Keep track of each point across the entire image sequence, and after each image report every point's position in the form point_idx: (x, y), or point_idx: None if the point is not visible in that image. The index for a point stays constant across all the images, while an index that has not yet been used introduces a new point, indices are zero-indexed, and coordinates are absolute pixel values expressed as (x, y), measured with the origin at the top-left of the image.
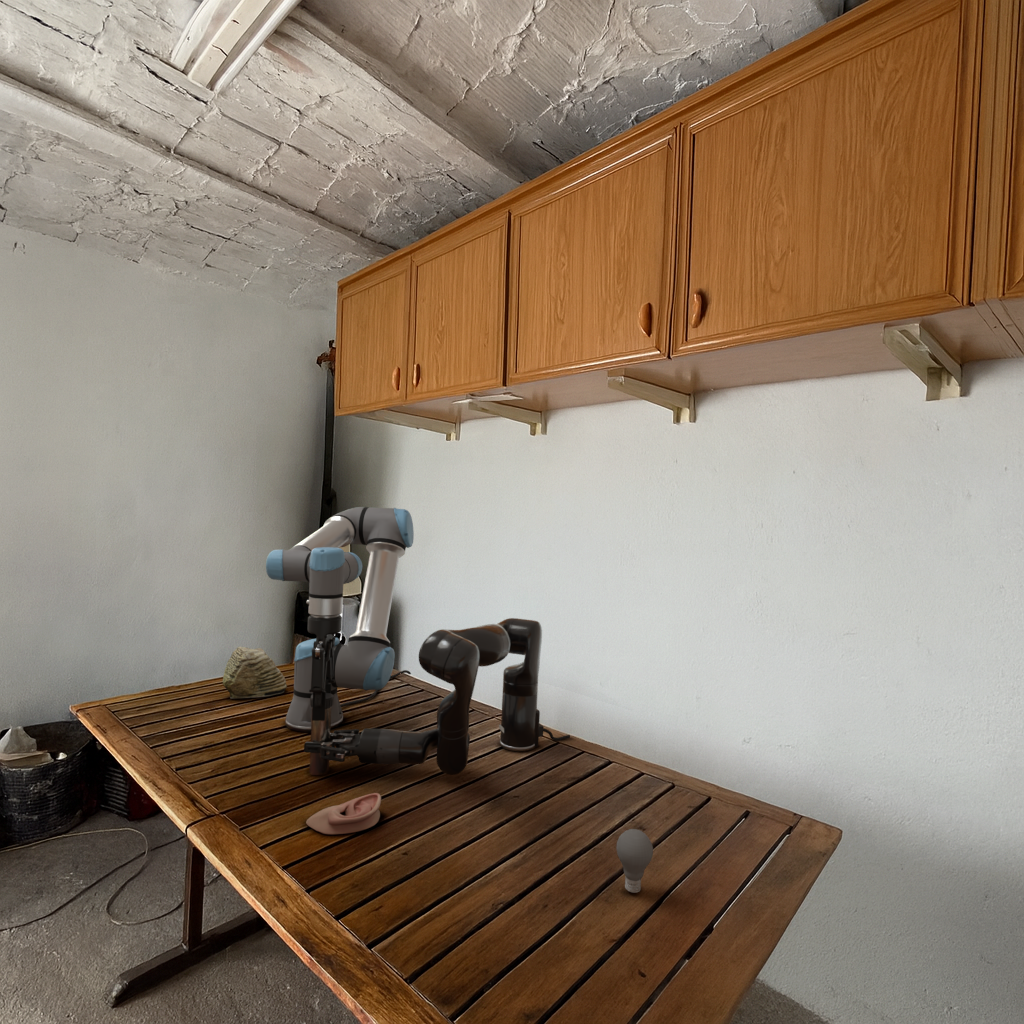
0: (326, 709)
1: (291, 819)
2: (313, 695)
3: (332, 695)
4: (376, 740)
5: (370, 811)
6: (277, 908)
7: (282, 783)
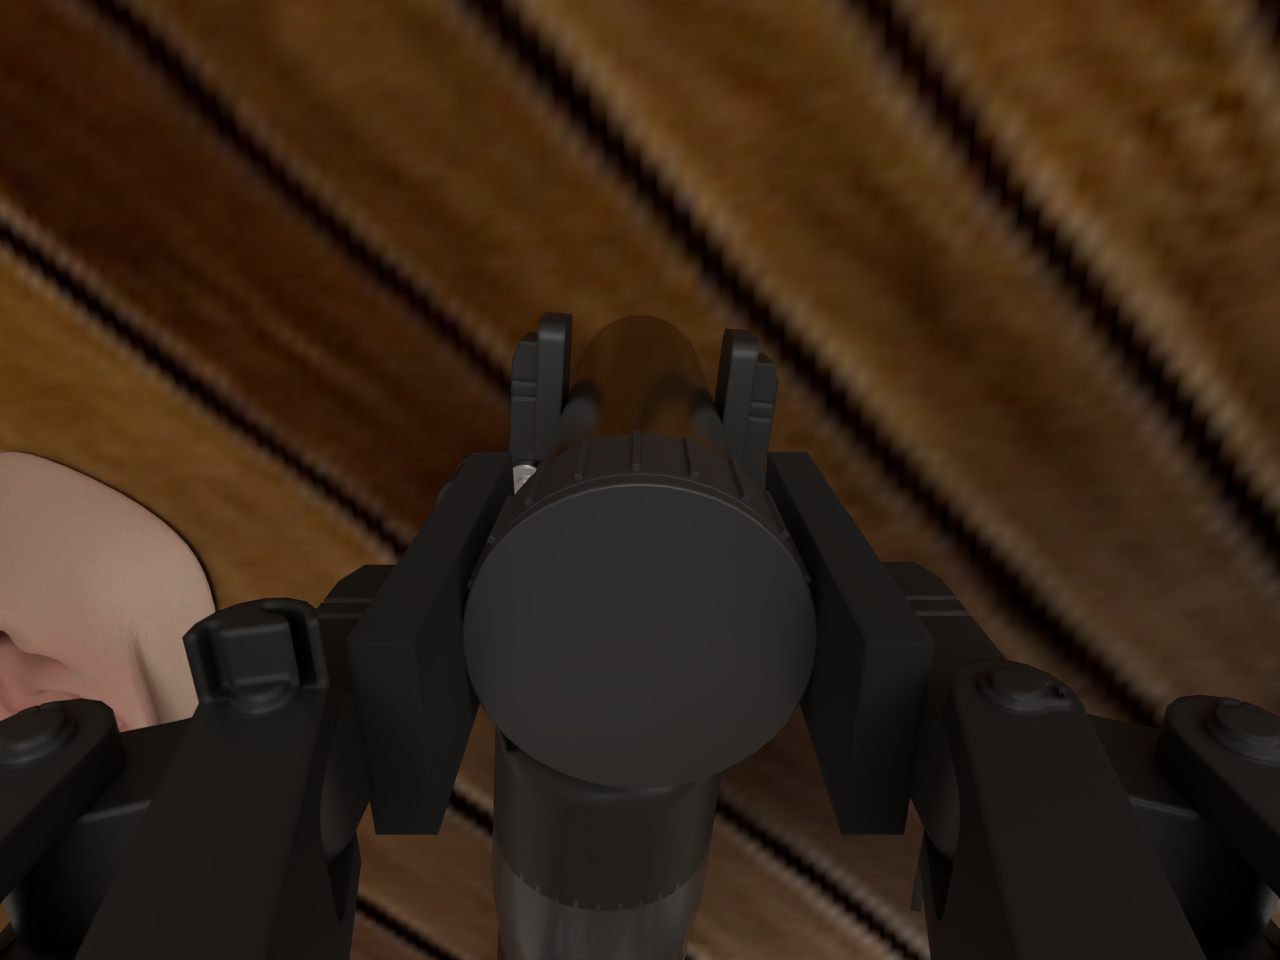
0: None
1: (34, 363)
2: (368, 612)
3: (666, 779)
4: (508, 857)
5: None
6: None
7: (450, 181)
